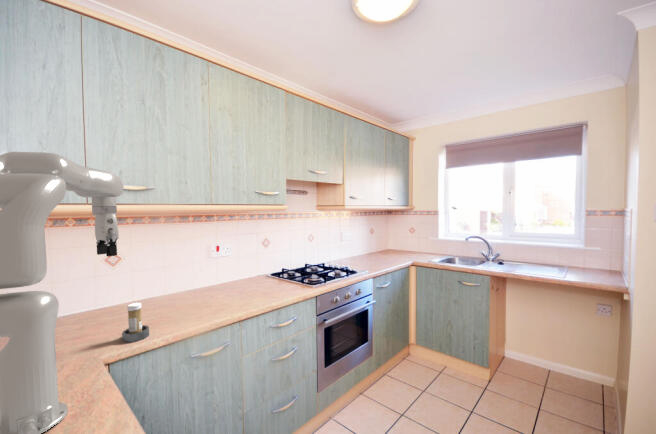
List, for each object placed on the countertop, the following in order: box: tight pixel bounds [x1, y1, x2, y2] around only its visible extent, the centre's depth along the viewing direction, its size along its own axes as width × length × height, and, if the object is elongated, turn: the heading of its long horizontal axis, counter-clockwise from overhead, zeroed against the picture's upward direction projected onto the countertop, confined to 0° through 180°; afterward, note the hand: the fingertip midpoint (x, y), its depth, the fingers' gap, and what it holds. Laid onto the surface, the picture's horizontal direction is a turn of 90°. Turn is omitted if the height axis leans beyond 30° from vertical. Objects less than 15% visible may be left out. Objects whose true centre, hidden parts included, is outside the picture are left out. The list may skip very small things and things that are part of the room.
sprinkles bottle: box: [126, 302, 143, 334], centre depth 112 cm, size 5×5×14 cm
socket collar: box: [121, 324, 150, 344], centre depth 112 cm, size 9×9×3 cm
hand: (106, 255), depth 110 cm, fingers open, 9 cm apart
